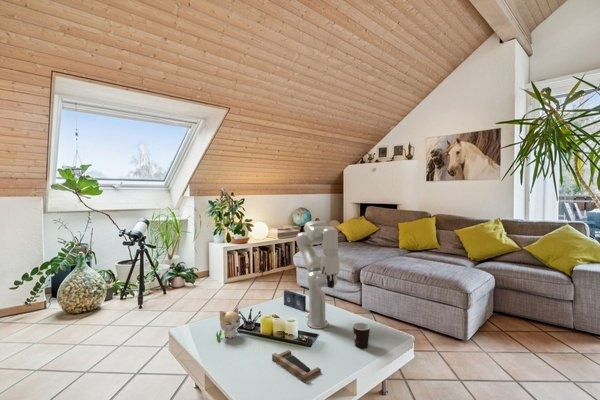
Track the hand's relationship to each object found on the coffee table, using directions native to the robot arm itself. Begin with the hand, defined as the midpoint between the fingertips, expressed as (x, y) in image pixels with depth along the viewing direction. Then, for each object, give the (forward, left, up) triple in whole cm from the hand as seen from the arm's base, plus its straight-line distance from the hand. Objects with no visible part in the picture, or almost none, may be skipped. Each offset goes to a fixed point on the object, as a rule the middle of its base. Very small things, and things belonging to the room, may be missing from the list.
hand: (330, 287), depth 160 cm
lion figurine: (-27, -12, -29) cm, 42 cm away
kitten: (-42, -36, -29) cm, 63 cm away
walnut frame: (+4, -27, -29) cm, 40 cm away
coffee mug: (+12, +10, -29) cm, 33 cm away
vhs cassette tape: (-49, +17, -29) cm, 60 cm away
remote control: (+4, -27, -30) cm, 40 cm away
